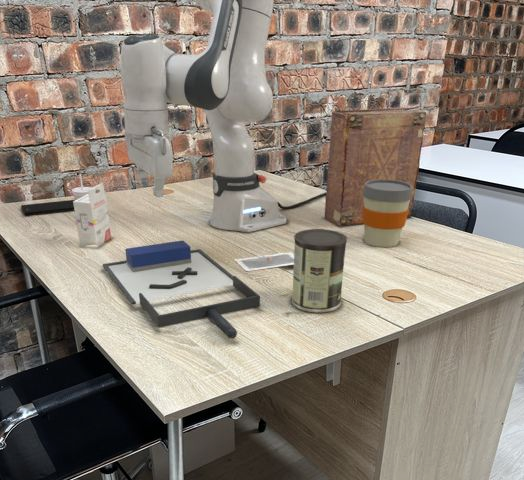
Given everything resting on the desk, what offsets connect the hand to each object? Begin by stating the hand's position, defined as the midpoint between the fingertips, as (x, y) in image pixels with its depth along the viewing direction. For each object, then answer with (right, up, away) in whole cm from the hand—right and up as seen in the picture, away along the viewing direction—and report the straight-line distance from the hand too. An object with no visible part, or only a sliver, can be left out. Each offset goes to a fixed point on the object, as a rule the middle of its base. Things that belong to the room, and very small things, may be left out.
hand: (151, 191), depth 122 cm
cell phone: (-40, +8, +49) cm, 63 cm away
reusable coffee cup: (+56, -6, +28) cm, 63 cm away
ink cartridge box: (-19, -7, +23) cm, 31 cm away
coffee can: (+35, -25, -6) cm, 44 cm away
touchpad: (+26, -14, +11) cm, 32 cm away
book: (+56, +5, +47) cm, 73 cm away
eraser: (0, -15, +8) cm, 17 cm away
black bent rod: (+4, -21, -4) cm, 22 cm away
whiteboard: (+4, -19, +3) cm, 20 cm away
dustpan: (+14, -29, -14) cm, 35 cm away
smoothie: (-25, +1, +37) cm, 45 cm away
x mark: (+7, -18, +2) cm, 19 cm away
